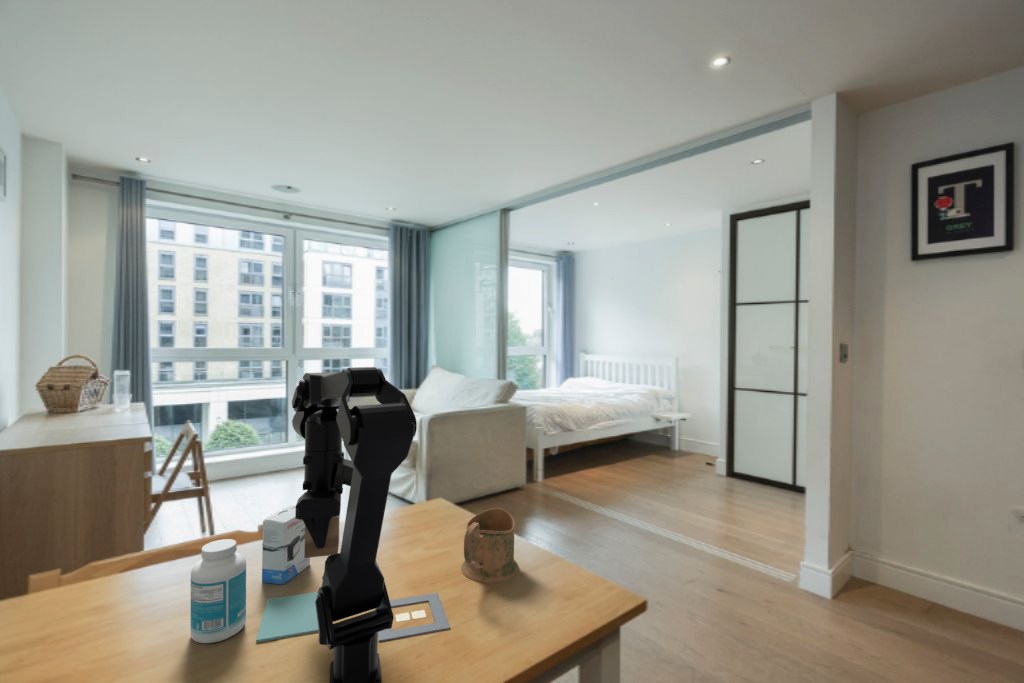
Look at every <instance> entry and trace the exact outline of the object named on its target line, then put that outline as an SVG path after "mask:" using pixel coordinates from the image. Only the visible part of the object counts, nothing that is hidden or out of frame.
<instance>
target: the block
mask: <svg viewBox="0 0 1024 683" xmlns="http://www.w3.org/2000/svg"><path fill="white" fill-rule="evenodd" d="M340 516H341V514H340V515H338V516H336V517H332V518H331V519H330V523H329V528H328V532H327V537H326V541H325V546H324V548H321V549H317V548H316V546H315V544H314V541H313V539H312V537H311V535H310V533H309V531H308V529H307V527H306V525H305V554H304V558H310V559H311V558H319V557H328V556H330V555H334V554H338V553H339V544H340V522H341V521H340V519H341V518H340Z"/></svg>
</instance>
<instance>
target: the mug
mask: <svg viewBox="0 0 1024 683" xmlns="http://www.w3.org/2000/svg"><path fill="white" fill-rule="evenodd" d="M513 517H514V516H512V515H511V514H510V512H508V510H505V509H503V508H500V507H494V508H490V509H487V510H483V511H481V512H479V513H478V514H475V515H474V516H473V517H471V518H470V519H469V520H468V522H467V523H466V531H465V534H464V537H463V555H464V557H463V558H464V561H463V562H462V564H461V565H460V566H461V567H460V571H461V573H462V574H463V575H464V577H466V578H467V579H469V580H472V581H474V582H479V583H484V584H485V583H486V584H487V583H488V584H489V583H491V584H493V583H500V582H505V581H508V580H510V579H513V578H514V577H515V576H517V575H518V573H519V564H518V562H517V561H516V560H515V519H514V518H513Z"/></svg>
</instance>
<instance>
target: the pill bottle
mask: <svg viewBox="0 0 1024 683" xmlns="http://www.w3.org/2000/svg"><path fill="white" fill-rule="evenodd" d="M237 545H238V544H237V540H235V539H232V538H226V539H223V538H222V539H218V540H217V539H216V540H213V541H210V542H207V543H206V544H204V545H203V546H202V547H201V552H200V553H201V558H202V559H200V560H199V561H197V562H196V563H195V564H194V565H193V566H192V568H191V572H190V637H191V638H192V640H193V641H194V642H196V643H199V644H213V643H214V644H215V643H219V642H222V641H225V640H227V639H229V638H231V637H232V636H235V635H236V634H238V633H239V632H240V631H241V630H242V629H243V627H244V626H245V624H246V621H247V560H246V558H245V556H244V555H243V554H242V553H239V552H237V549H238V548H237Z"/></svg>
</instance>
